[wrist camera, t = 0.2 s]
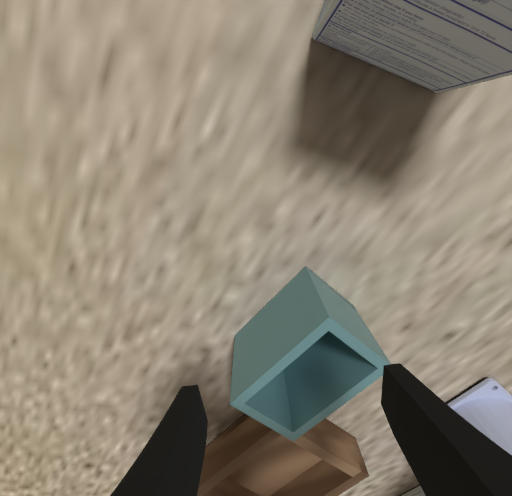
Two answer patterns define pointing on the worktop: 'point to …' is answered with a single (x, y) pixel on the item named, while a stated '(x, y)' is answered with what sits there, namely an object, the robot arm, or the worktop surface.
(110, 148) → the worktop surface
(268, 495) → the walnut crate
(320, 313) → the teal crate
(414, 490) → the supplement box
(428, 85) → the medicine box
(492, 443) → the robot arm
